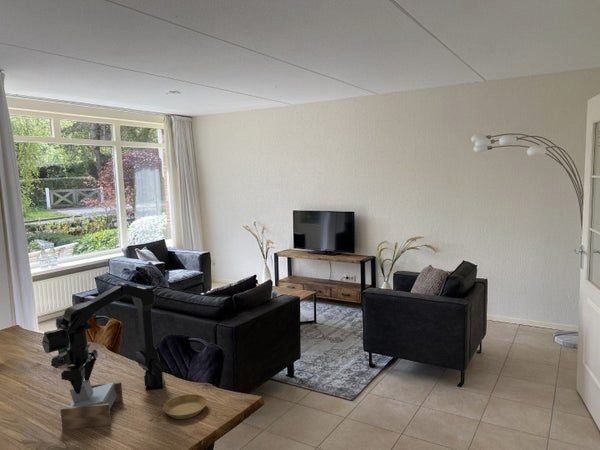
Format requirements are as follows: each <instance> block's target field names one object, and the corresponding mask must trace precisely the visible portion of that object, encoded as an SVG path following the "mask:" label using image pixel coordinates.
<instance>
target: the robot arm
mask: <svg viewBox="0 0 600 450" xmlns="http://www.w3.org/2000/svg"><path fill="white" fill-rule="evenodd" d="M155 294H156V293H155V291H154V289H152V288H149V287H146V286H143V285H138V286H133V285H130V284H128V283H125V282H119V283H117V284H115V286H113V287H110V289H108V290H106V291H104V292H102V293H101V294H99V295H97V296H95V297H93V298H91V299H90V300H88V301H86V302H80V303H77V304H74V305H71V306H69V307H67V308H66V309H65V310H64V313H63V316H64V317H63V319H62V321H61V322H60V324H59V326H58V328H59V329H54V330H48V331H44V333H43V335H44V336H43V337H42V341H41V344H42V349H43V350H44V353H46V354H51V353H54V352H58V350H61V349H64V348H66V347H67V346H68V345H69V349H68V350H67V351H66V352H64V353H61V354H57V355H55V356H53V357H52V358H51V361H50V363H51V364H50V366H51V367H53V368H55V369H58V368H60V367H62V366H64V365H67V367H65V368H64V370H63V371H62V372H61V373H60V376H61V380H64V381H68V382H69V383H70V384H71V386H73V388H74V390H75V392H76V394H80V392H81V388H82V384H83V381H86V380H90V378H91V375H92V373H93V370H94V367H95V365H96V362H97V358H98V356H99V355H98V351H97V349H95V348H92V349H90V347H91V344H90V342H88V341H89V340H88V333H87V330H89V329H90V330H91V329H93V326H94V325H92V324H90V323H89V321H90V320H91V319H92V318H93V317H94V315H95V314H96V313H97V312H99V311H100V310H102V309H103V308H105V307H107V306H109V305H111V304H112V303H114V302H116V301H117V300H119V299H121V298H122V297H124V296H130V297H131V298H132V302H133V304H134V306H135V309H136V310H137V315H138V316H137V317H138V328H139V338H140V339H139V340H140V348H139V351H135V356H136V360H135V362H136V363H137V365H138V366H139V367H141V368H142V369H143V371H145V372H144V376H143V380H144V387H145V388H144V389H145V391H146V390H158V389H163V388H164V385H165V383H166V379H165V377H164V376H165V375H164V372H166V370H167V365H166V364H164V363H163V362H162V361H161V359H160V356H159V352H158V351H157V349H156V347H155V340H154V331H153V330H154V327H153V319H152V318H153V317H152V309H153V306H154V304H155ZM69 323H70V326H69V325H68V324H69ZM72 364H73V365H75V366H71V365H72Z"/></svg>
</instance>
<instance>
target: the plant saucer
mask: <svg viewBox="0 0 600 450" xmlns="http://www.w3.org/2000/svg"><path fill="white" fill-rule="evenodd" d="M207 404H208V399H207V397H205V396H203V395H201V394H195V393H194V394H190V393H189V394H182V395H179V396H176V397H173V398H171V399H169V400H168V401H167V402H165V403H164V404H163V408H162V410H163V411H164V412H165V413H166V415H168V416H169V417H172V418H173V419H177V420H184V419H189V418H193V417H196V416H197V415H199V414H200V413H201V412H202V411H203V410H204V409H205V407H206V405H207Z"/></svg>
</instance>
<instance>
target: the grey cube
mask: <svg viewBox="0 0 600 450" xmlns="http://www.w3.org/2000/svg"><path fill="white" fill-rule="evenodd" d="M91 385H92V383H91V381H90V379H89V380H86V381H85V380H83V384H82V388H81V392H80V394H76V392H75V390H74V388H73V386H72V385H71V386H72V387H71V388H70V389H69V392H70V395H71V399H72V402H74V403H78V402H82V401H85V400H89V399H90V397H91V396H92V394H93V389H92V386H91Z"/></svg>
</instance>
